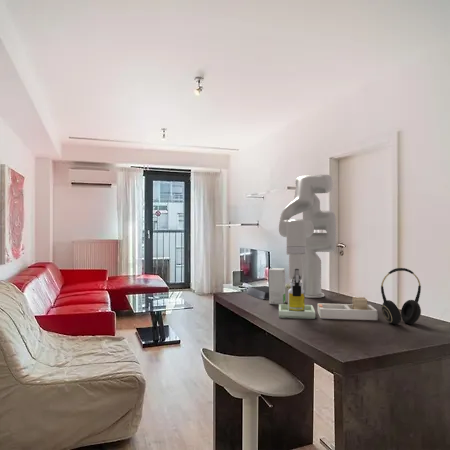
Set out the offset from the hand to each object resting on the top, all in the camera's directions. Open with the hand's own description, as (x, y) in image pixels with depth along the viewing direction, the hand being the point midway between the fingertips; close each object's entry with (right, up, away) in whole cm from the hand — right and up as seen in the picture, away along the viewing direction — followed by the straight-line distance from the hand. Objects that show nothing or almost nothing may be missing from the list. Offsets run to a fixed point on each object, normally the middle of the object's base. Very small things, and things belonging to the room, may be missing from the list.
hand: (296, 293), depth 146 cm
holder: (+19, -8, -3) cm, 21 cm away
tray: (0, -8, 0) cm, 8 cm away
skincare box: (-4, -8, +22) cm, 24 cm away
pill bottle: (0, -7, 0) cm, 8 cm away
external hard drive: (-8, -9, +40) cm, 41 cm away
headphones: (+35, -8, -14) cm, 38 cm away
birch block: (+24, -8, -3) cm, 26 cm away
